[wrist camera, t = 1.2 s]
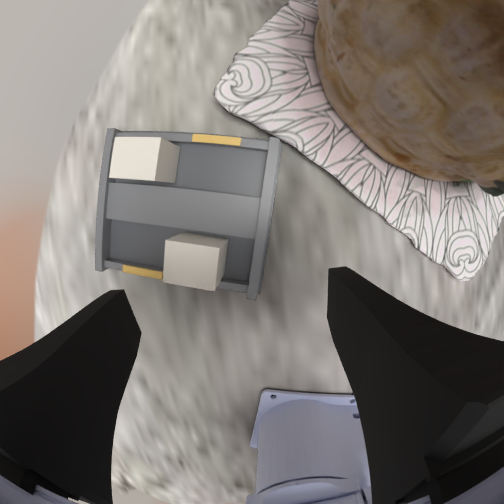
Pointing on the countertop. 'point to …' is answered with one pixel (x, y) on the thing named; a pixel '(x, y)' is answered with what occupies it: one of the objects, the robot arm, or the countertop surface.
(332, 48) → the cookie jar
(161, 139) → the tab
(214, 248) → the tab
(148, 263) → the tray
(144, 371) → the countertop surface
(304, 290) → the countertop surface
